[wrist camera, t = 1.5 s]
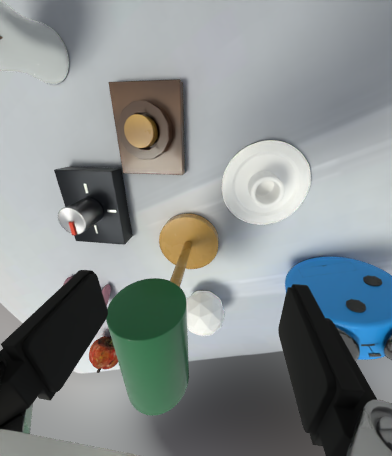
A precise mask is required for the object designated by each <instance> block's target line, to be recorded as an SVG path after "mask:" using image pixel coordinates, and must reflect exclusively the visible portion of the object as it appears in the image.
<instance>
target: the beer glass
mask: <svg viewBox="0 0 392 456" xmlns="http://www.w3.org/2000/svg"><path fill="white" fill-rule="evenodd" d="M68 69H69V57H68V53H67V49H66V47H65V44H64V42H63V41H62V39H61V37H60V36H59V35H58V34H57V33H56V32H55V31H54V30H53V29H52V28H51V27H49V26H48V25H46V24H44V23H41V22H38V21H34V20H31V19H28V18H26V17H24V16H22V15H21V14H19V13H18V12H16V11H15V10H14V9H12V8H11V7H10V6H8V5H7V4H6V3H5V2H3V1H2V0H0V71H9V72H20V73H25V74H28V75H31V76H33V77H35V78H37V79H38V80H40V81H42V82H45V83H47V84H58V83H60V82H62V81H63V80H64V79H65V77H66V76H67V73H68Z"/></svg>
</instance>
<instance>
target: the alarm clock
mask: <svg viewBox="0 0 392 456" xmlns="http://www.w3.org/2000/svg"><path fill="white" fill-rule="evenodd" d="M293 284H300V285H307V286H308V287H309V289H310V290H311V292H312V294H313V296H314V298H315V300H316V302H317V303H318V305H319V307H320V309H321V311H322V313H323V315H324V317H325V318H329V319H331V320H332V321H333V323H334V324H335V326H336V328H337V330H338V331H339V333H340V335H341V337H342V338H343V340H344V342H345V344H346V345H347V347H348V349H349V351H350V353H351V354H352V356H353V358H354V360H355V361H357V359H364V360H366V359H376V358H381V357H384V356H386V357H387V358H389V359H391V360H392V276H391V275H390V274H388V273H387V272H385V271H384V270H382V269H380V268H378V267H376V266H373V265H371V264H368V263H365V262H362V261H359V260H355V259H350V258H344V257H317V258H311V259H308V260H305V261H302V262H300V263H298V264H296V265H295V266H294V267H293V268H292V269H291V270H290V271H289V272H288V274H287V276H286V280H285V287H286V292H287V288H288V287H291V286H292V285H293Z"/></svg>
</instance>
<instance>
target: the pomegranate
mask: <svg viewBox="0 0 392 456" xmlns="http://www.w3.org/2000/svg"><path fill="white" fill-rule="evenodd" d="M89 359H90V362H91V363H92V364H93V366H94V367H95V368H97V369H98V370H97V373H99V372H100V370H101V368H103V369H109V368H112V367H114V366H115V365H116V364H117V363H118V359H117V355H116V352H115V348H114V345H113V342H112V339H111V338H109V337H105V336H104V337H101V338H100V339H98V340H96V341H95V342H94V343H93V344H92V346H91V348H90V352H89Z"/></svg>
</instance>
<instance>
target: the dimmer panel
mask: <svg viewBox="0 0 392 456" xmlns="http://www.w3.org/2000/svg"><path fill="white" fill-rule="evenodd" d="M54 171H55V174H56V177H57V181H58V184H59V187H60V190H61V194H62V197H63V200H64V203H65V207H67V206H69V205H71V204H73V203H75V202H77V201H79V200H82V199H84V198H92V199H94V200H96V201H97V202H99V203H100V205H101V206H102V208H103V213H104V214H103V217H102V219H101V220H100V221H98V222H97V223H95V224H94V225H92V226H91V227H90V228H88V229H87V230H85V231H84V232H82V233H81V234H77V235H74V236H75V239H76V241H85V242H99V243H112V244H126V243H127V242H128V240H129V239H130V238H131V237H132V231H131V225H130V218H129V212H128V206H127V200H126V194H125V188H124V182H123V175H122V169H121V168H103V167H65V168H60V169H56V170H54Z"/></svg>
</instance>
